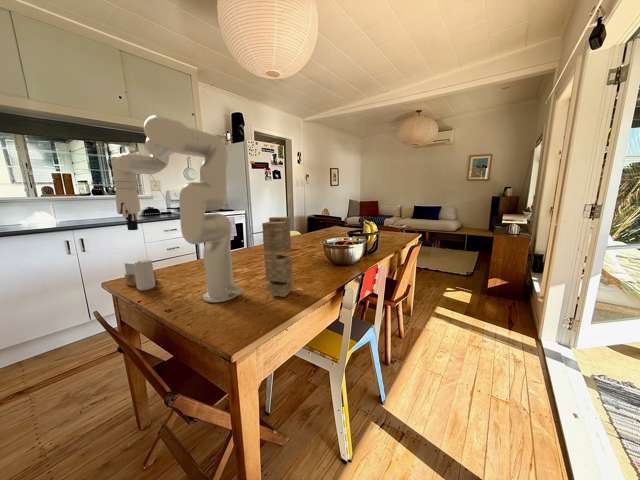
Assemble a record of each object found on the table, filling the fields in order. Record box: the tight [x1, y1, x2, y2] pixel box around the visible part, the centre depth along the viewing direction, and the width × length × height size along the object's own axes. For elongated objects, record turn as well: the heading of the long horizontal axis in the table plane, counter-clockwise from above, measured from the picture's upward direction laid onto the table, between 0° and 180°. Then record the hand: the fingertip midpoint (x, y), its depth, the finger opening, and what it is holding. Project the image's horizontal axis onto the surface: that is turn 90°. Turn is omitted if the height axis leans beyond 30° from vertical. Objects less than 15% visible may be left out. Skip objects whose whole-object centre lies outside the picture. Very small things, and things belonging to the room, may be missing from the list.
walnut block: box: [124, 269, 157, 287], centre depth 113 cm, size 8×8×5 cm
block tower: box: [261, 216, 294, 298], centre depth 96 cm, size 8×8×29 cm
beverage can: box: [134, 258, 156, 292], centre depth 105 cm, size 6×6×12 cm
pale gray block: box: [124, 258, 153, 275], centre depth 112 cm, size 7×7×5 cm
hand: (133, 229), depth 109 cm, fingers closed
